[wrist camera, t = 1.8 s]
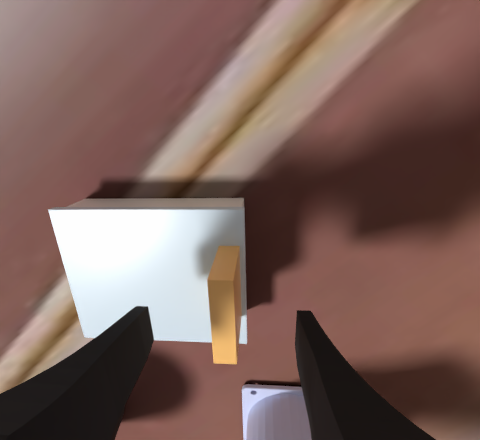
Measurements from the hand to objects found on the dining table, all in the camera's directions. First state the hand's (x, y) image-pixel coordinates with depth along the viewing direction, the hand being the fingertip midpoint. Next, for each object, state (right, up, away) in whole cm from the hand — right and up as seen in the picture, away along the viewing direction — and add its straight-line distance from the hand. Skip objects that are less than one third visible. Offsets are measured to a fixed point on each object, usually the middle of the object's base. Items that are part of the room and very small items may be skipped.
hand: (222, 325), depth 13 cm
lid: (-4, +2, +5) cm, 7 cm away
